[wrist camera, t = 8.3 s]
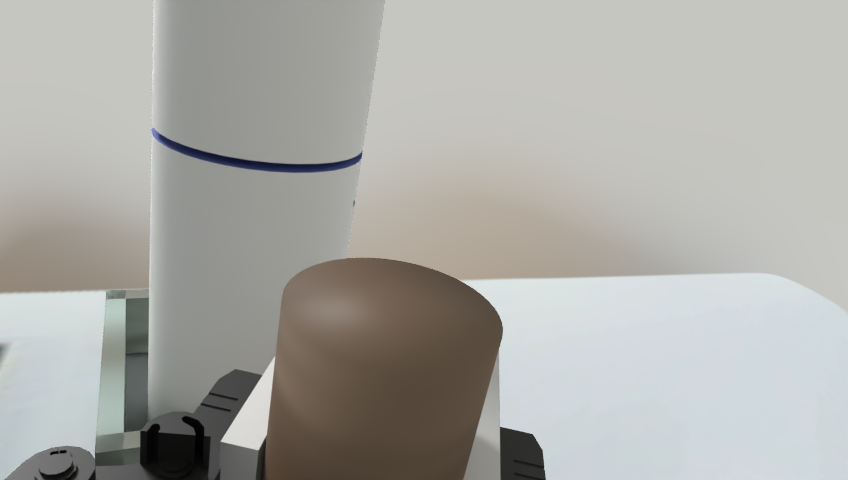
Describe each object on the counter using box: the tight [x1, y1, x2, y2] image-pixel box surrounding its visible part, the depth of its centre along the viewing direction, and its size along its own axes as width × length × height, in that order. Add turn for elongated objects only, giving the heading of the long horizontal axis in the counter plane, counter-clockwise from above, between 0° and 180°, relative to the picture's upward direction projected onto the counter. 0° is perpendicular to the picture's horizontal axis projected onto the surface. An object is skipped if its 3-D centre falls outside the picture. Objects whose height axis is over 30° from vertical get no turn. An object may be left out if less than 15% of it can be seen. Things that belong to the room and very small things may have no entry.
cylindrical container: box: [148, 0, 385, 422], centre depth 21 cm, size 7×7×25 cm
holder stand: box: [95, 258, 503, 480], centre depth 20 cm, size 21×11×13 cm, turn 24°
